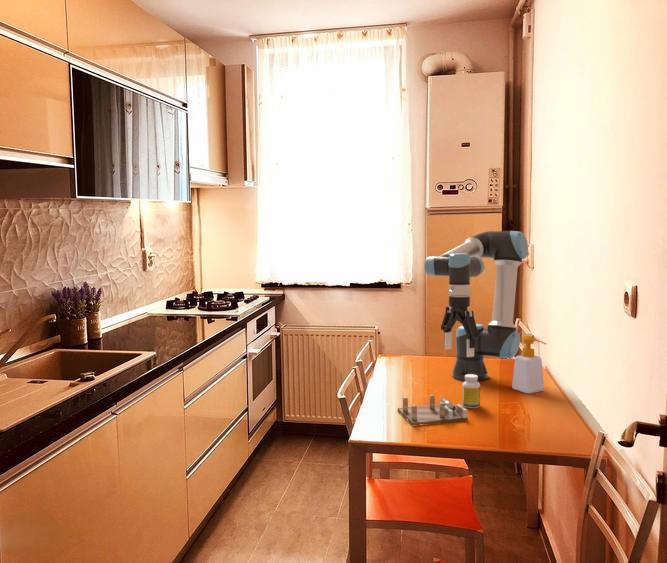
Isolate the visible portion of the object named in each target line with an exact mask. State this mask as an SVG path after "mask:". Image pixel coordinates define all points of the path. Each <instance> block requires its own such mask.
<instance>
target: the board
mask: <svg viewBox="0 0 667 563" xmlns="http://www.w3.org/2000/svg"><path fill="white" fill-rule="evenodd" d="M435 398H436V395H434V394H429V404H428V405H427V404H425V405H417V404H416V405H415V404H412V405H410V406H409V398H408V397H407V396H406V397H405V396H404V397H402V407H398V408H397V412H398V411H399V412H400V413H401V414H402V415H403V416H404V417H405V418H406V419H408V421H409V422H410V423H411V424H412V425H420V424H431V425H437V423H441V424H448V423H457V422H458V421H460V422H468V420H469V418H468V417H469V416H468V408H466V407H464V406H463V405H462V404H459V403H457V404H455V407H456V409H455V411H454V412H453V411H452V410H451V409H450V408H448V407H447V406H445V403H440V402H439V404H438V403H437V404H435V400H436V399H435ZM399 412H398V413H399ZM400 413H399V414H400ZM401 414H400V415H401ZM402 415H401V416H402ZM403 416H402V417H403ZM404 417H403V418H404ZM405 418H404V419H405ZM406 419H405V420H406ZM408 421H407V422H408ZM409 422H408V423H409ZM410 423H409V424H410ZM435 423H436V424H435ZM411 424H410V425H411ZM412 425H411V426H412Z"/></svg>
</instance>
